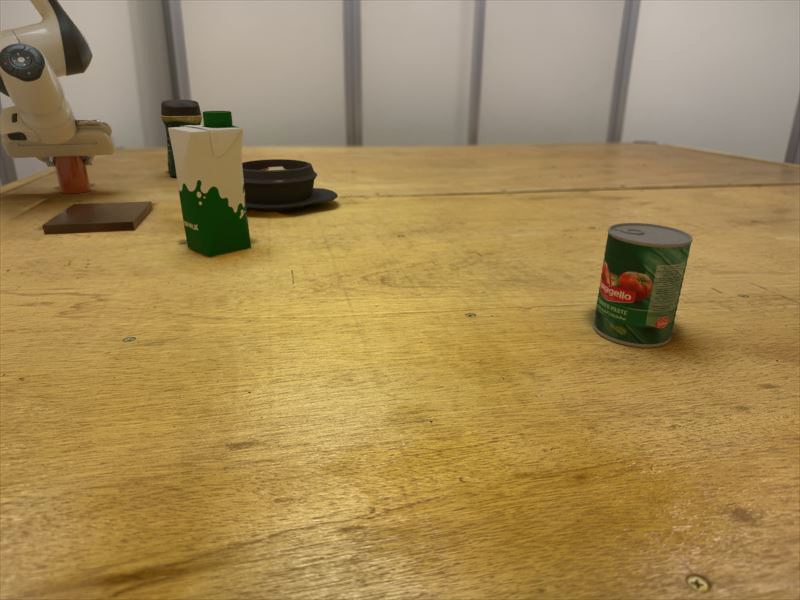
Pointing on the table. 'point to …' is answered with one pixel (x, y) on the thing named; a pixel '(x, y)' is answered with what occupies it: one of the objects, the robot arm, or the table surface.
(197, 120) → the coffee jar
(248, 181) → the casserole
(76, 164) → the honey jar
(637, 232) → the canned tomato
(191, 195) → the milk carton
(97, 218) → the board
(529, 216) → the table surface
